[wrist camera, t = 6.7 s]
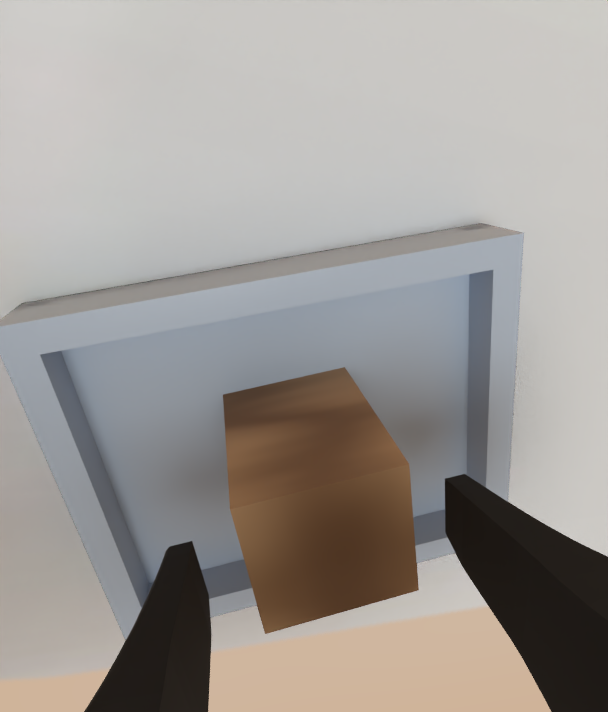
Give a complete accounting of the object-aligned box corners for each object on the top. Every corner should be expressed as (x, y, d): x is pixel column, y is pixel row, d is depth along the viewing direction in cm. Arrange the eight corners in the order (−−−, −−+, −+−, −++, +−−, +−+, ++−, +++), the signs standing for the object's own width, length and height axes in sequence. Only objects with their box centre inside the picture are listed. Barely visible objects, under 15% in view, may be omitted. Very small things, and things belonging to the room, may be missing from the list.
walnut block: (248, 493, 18) (265, 633, 13) (223, 394, 16) (230, 509, 11) (357, 466, 19) (418, 590, 13) (344, 366, 17) (409, 464, 12)
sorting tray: (134, 586, 20) (125, 639, 18) (22, 303, 15) (-12, 328, 13) (475, 501, 22) (505, 539, 20) (481, 223, 17) (523, 233, 15)
